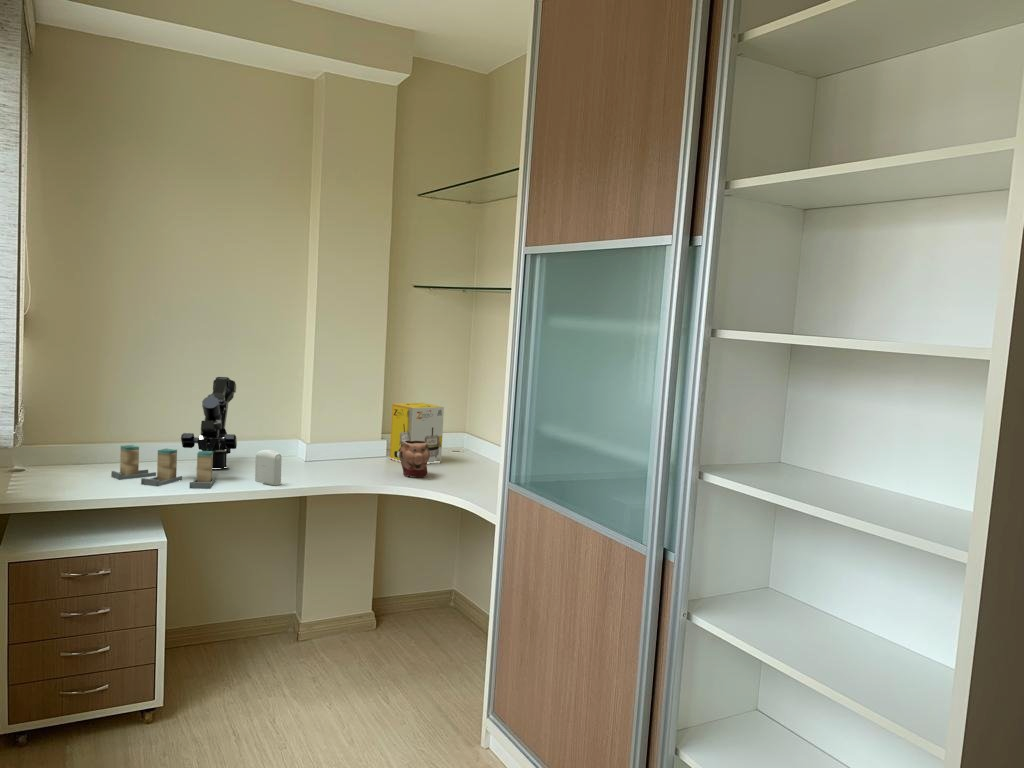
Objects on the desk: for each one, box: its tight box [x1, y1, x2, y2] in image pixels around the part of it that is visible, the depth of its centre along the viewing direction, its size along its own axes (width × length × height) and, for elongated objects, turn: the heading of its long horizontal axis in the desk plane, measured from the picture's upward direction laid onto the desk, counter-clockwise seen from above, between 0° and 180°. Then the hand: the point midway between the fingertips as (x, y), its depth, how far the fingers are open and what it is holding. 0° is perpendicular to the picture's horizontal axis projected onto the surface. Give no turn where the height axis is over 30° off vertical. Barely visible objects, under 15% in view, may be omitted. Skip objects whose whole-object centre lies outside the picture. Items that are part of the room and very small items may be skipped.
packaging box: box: [389, 402, 445, 462], centre depth 360 cm, size 16×16×25 cm
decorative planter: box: [399, 441, 430, 478], centre depth 330 cm, size 20×12×14 cm, turn 24°
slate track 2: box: [140, 475, 183, 487], centre depth 288 cm, size 13×7×2 cm, turn 166°
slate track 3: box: [189, 476, 217, 490], centre depth 288 cm, size 13×7×2 cm, turn 12°
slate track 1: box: [111, 469, 157, 481], centre depth 295 cm, size 13×7×2 cm, turn 140°
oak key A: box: [119, 444, 140, 476], centre depth 293 cm, size 4×4×11 cm
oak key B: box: [156, 448, 178, 481], centre depth 291 cm, size 4×4×11 cm
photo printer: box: [254, 449, 283, 486], centre depth 298 cm, size 10×4×12 cm, turn 63°
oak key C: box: [196, 450, 213, 482], centre depth 290 cm, size 4×4×11 cm
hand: (206, 459), depth 293 cm, fingers closed
